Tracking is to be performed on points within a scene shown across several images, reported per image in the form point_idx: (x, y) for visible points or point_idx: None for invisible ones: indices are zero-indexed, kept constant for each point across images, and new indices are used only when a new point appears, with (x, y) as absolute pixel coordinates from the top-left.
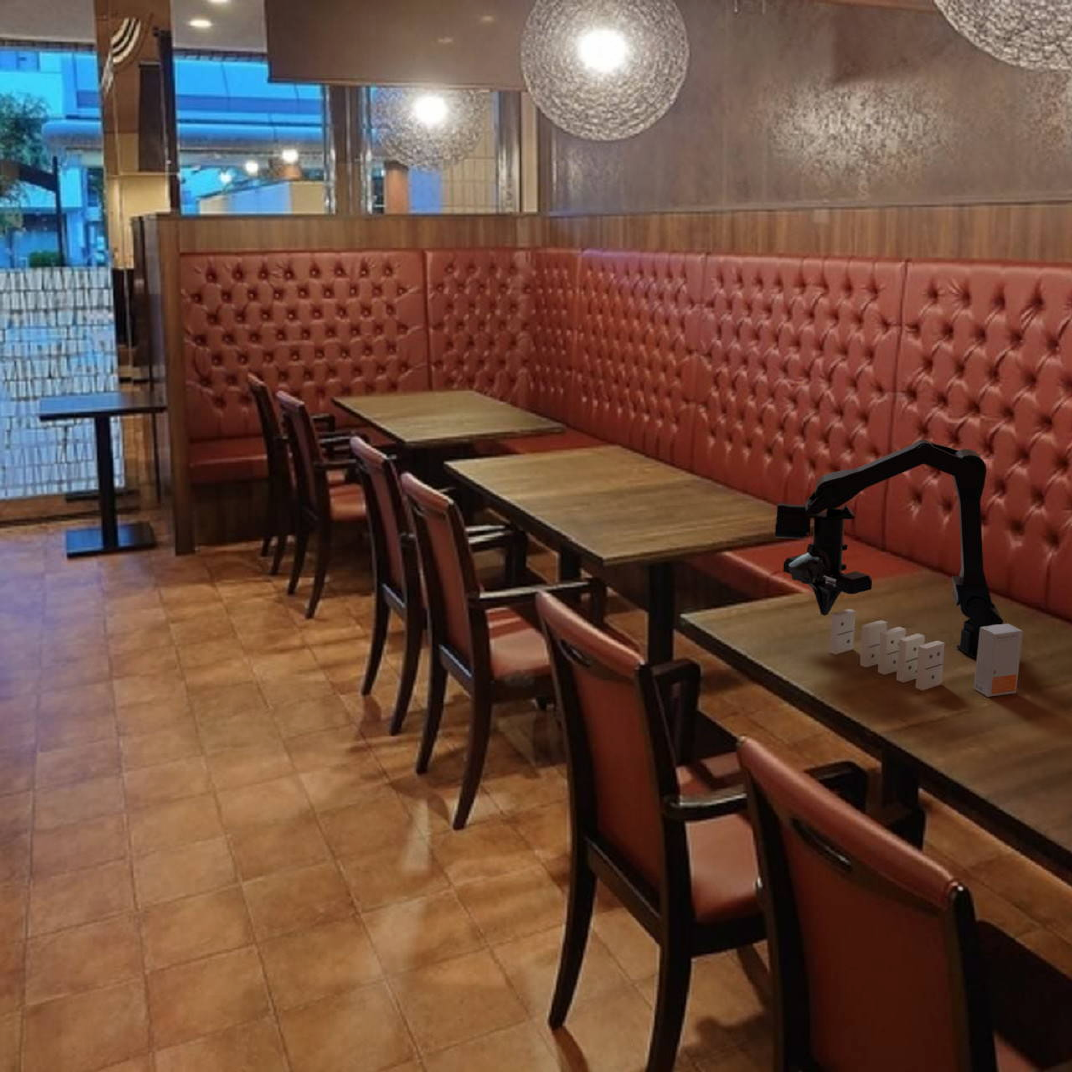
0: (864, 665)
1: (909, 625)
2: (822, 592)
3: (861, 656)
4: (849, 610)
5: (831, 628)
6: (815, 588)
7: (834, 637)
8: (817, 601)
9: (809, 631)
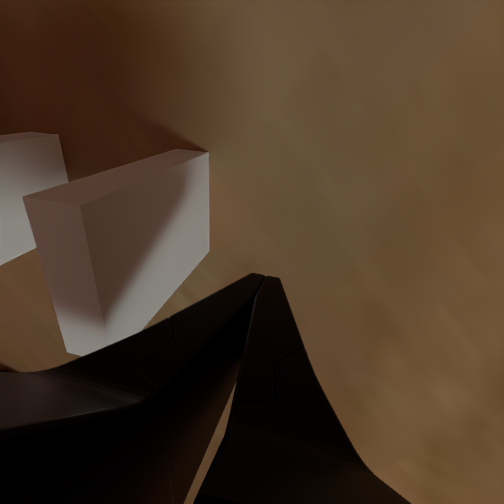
0: (35, 132)
1: None
2: (150, 391)
3: (22, 137)
4: (87, 340)
5: (141, 176)
6: (265, 446)
7: (144, 163)
8: (291, 326)
9: (422, 292)
